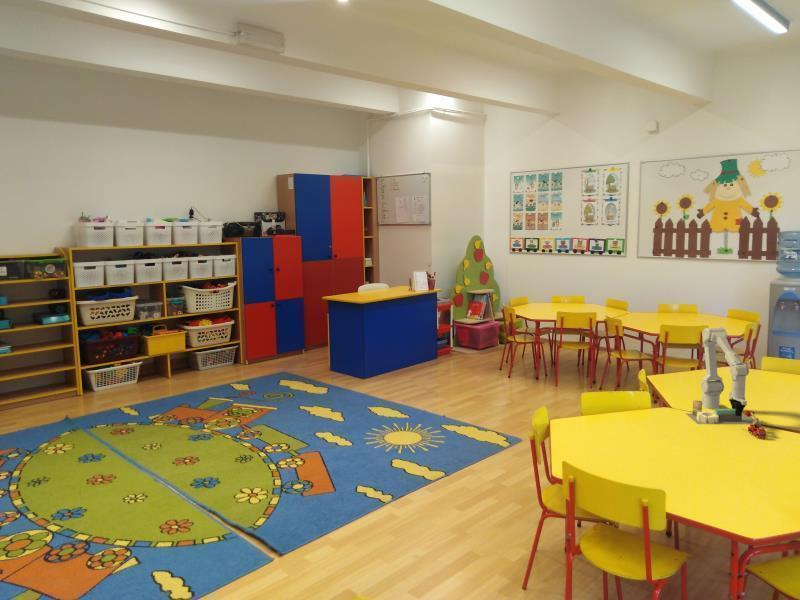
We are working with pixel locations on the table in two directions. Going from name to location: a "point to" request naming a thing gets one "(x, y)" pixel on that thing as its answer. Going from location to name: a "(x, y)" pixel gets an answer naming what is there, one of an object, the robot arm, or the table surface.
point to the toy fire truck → (755, 430)
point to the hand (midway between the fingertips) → (737, 414)
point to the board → (744, 420)
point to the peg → (697, 407)
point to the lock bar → (725, 411)
